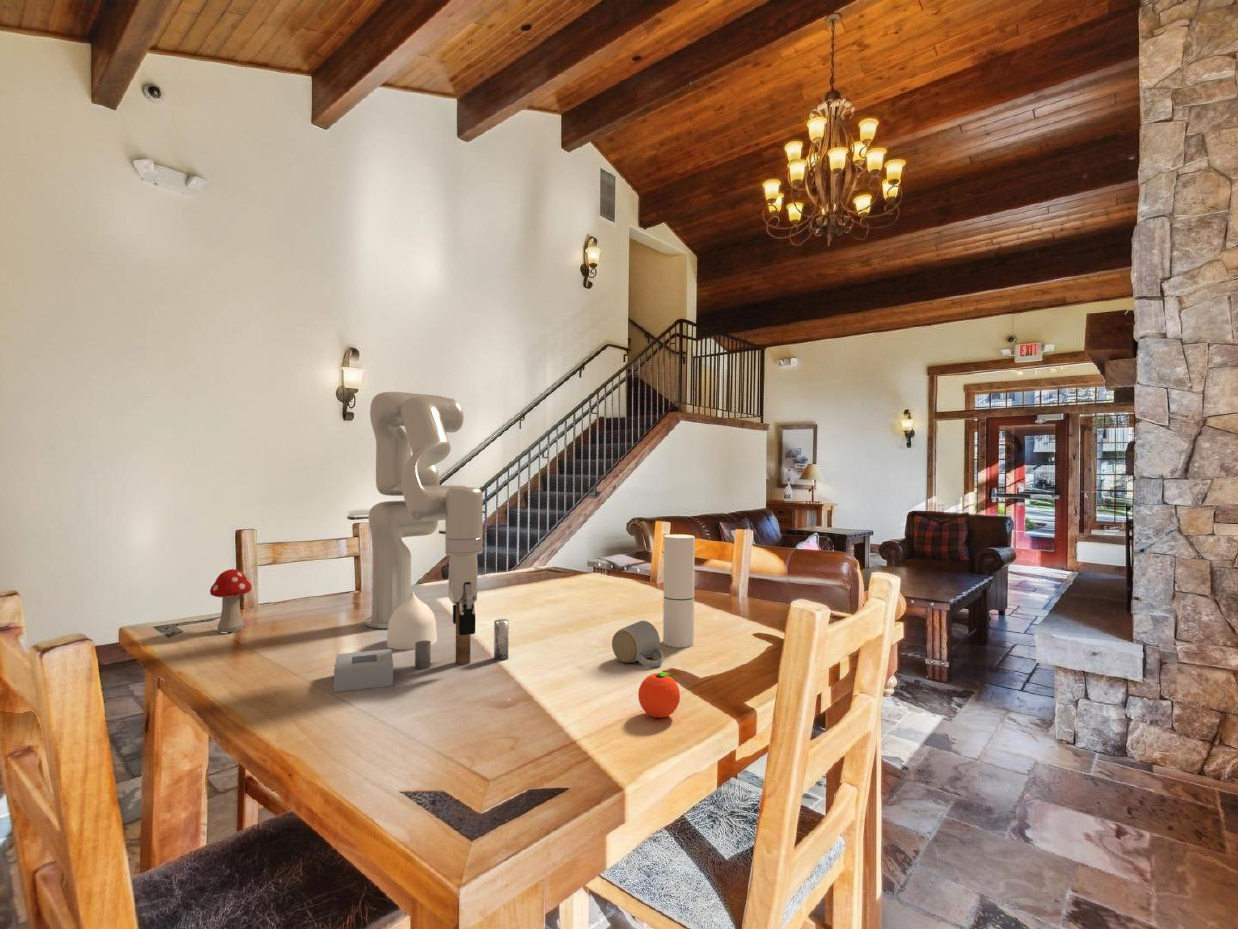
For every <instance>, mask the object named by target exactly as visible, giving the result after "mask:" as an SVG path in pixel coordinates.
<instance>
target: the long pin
mask: <svg viewBox="0 0 1238 929" xmlns="http://www.w3.org/2000/svg"><path fill="white" fill-rule="evenodd" d="M455 605H456V624H455V660H454V661H455V665H458V666H459V665H460V666H463V665H468V664H471V635H472V634H469V635H459V615H460V604H459V602H456V604H455ZM463 609H464V607H463Z"/></svg>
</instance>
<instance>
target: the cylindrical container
mask: <svg viewBox="0 0 1238 929" xmlns="http://www.w3.org/2000/svg"><path fill="white" fill-rule="evenodd" d="M695 539H696V537H695V535H691V534H664V535H663V606H662V607H663V617H662V618H663V620H662V622H663V624H662V626H663V628H662V629H663V632H662V633H663V634H662V635H663V636H662V643H663V644H664V645H665V644H666V645H665V646H667V645H668V646H667V647H671V646H672V647H671V648H688V646H689V647H692V646H694V644H695V560H696V559H695V548H696V546H695V545H696V544H695V543H696V542H695V541H696V540H695Z"/></svg>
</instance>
